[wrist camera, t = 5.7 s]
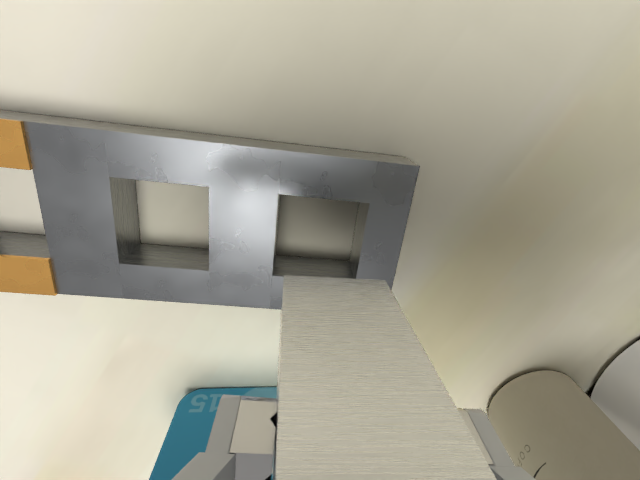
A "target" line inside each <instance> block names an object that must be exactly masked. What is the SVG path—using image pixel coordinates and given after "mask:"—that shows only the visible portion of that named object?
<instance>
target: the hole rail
mask: <svg viewBox="0 0 640 480" xmlns="http://www.w3.org/2000/svg"><path fill="white" fill-rule="evenodd" d="M0 167H6V168H16V169H26V170H31V169H33V173H34V178H35V183H36V188H37V193H38V198H39V203H40V208H41V213H42V218H43V223H44V228H45V234H46V235H36V234H25V233H13V232H1V231H0V292H12V293H27V294H41V295H57V294H69V295H83V296H97V297H111V298H126V299H140V300H154V301H168V302H182V303H197V304H211V305H225V306H239V307H254V308H268V309H282V295H283V280H284V275H292V276H312V277H332V278H352V279H372V280H385V281H386V282H387V284H388V286H389V288H390V289H392V285H393V280H394V276H395V272H396V267H397V263H398V259H399V254H400V250H401V246H402V241H403V237H404V232H405V228H406V224H407V219H408V215H409V211H410V206H411V202H412V198H413V193H414V189H415V185H416V180H417V176H418V172H419V167H420V166H419V165H417V164H416V163H414V162H412V161H411V160H409V159H408V158H406V157H403V156H394V155H386V154H377V153H368V152H360V151H351V150H342V149H334V148H325V147H316V146H308V145H299V144H291V143H282V142H273V141H265V140H256V139H247V138H239V137H230V136H221V135H213V134H204V133H195V132H187V131H178V130H170V129H161V128H152V127H144V126H135V125H126V124H118V123H109V122H100V121H92V120H83V119H74V118H66V117H57V116H49V115H40V114H31V113H23V112H14V111H5V110H0ZM135 180H145V181H155V182H165V183H174V184H184V185H194V186H204V187H209V249H201V248H189V247H178V246H166V245H154V244H142V243H140V233H139V221H138V209H137V198H136V186H135ZM280 194H283V195H293V196H302V197H312V198H322V199H332V200H342V201H352V202H359V206H358V211H357V217H356V223H355V229H354V235H353V241H352V247H351V253H350V259H349V261H342V260H331V259H319V258H307V257H295V256H284V255H275V253H276V240H277V228H278V215H279V202H280Z"/></svg>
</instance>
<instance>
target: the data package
mask: <svg viewBox="0 0 640 480" xmlns="http://www.w3.org/2000/svg"><path fill="white" fill-rule="evenodd" d="M223 394H225V395H237V396H253V397H264V398H276V395H277V387H254V388H209V389H198V390H195V391H193V392H191V393H189V394H187V395H186V396H185V397H184V398H183V399H182V400H181V401H180V403H179V404H178V407H177V409H176V412H175V414H174V417H173V419H172V422H171V425H170V427H169V430H168V432H167V435H166V437H165V440H164V443H163V445H162V448H161V450H160V453H159V455H158V458H157V461H156V463H155V466H154V468H153V471H152V473H151V476H150V478H149V480H172V479H173V478H174V477H175V476H176V475H177V474H178V473H179V472H180V471H181V470H182V469H183V468H184V467H185V466H186V465H187V464H188V463H189V462H190V461H191V460H192V459H193V458H194V457H195V456H196V455H197V454H198V453H199V452H205V451H206V447H207V444H208V440H209V437H210V433H211V430H212V426H213V423H214V419H215V416H216V412H217V409H218V405H219V402H220V399H221V397H222V395H223ZM273 457H274V455H273ZM272 477H273V466H272V476H271V480H272Z"/></svg>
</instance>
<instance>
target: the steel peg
mask: <svg viewBox="0 0 640 480" xmlns="http://www.w3.org/2000/svg"><path fill="white" fill-rule="evenodd" d="M276 399H278V408H277V423H276V434H275V445H274V457H273V477H272V480H497V479H496V477H495V476H494V474H493V472H492V470H491V468H490V467H489V465H488V463H487V461H486V459H485V458H484V456H483V454H482V452H481V450H480V449H479V447H478V445H477V443H476V442H475V440H474V438H473V436H472V434H471V433H470V431H469V429H468V427H467V425H466V424H465V422H464V420H463V418H462V416H461V415H460V413H459V411H458V409H457V408H456V406H455V404H454V402H453V400H452V399H451V397H450V395H449V393H448V391H447V390H446V388H445V386H444V384H443V382H442V381H441V379H440V377H439V375H438V374H437V372H436V370H435V368H434V366H433V365H432V363H431V361H430V359H429V357H428V356H427V354H426V352H425V350H424V349H423V347H422V345H421V343H420V341H419V340H418V338H417V336H416V334H415V332H414V331H413V329H412V327H411V325H410V323H409V322H408V320H407V318H406V316H405V315H404V313H403V311H402V309H401V307H400V306H399V304H398V302H397V300H396V298H395V297H394V295H393V293H392V291H391V289H390V288H389V286H388V284H387V282H386V281H385V280H372V279H352V278H332V277H312V276H292V275H284V280H283V295H282V310H281V325H280V341H279V356H278V375H277V395H276Z"/></svg>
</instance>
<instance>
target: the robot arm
mask: <svg viewBox="0 0 640 480" xmlns="http://www.w3.org/2000/svg"><path fill="white" fill-rule="evenodd" d="M590 399H591V400H592V401H593V402H594V403H595V404H596V405H597V406H598V407H599V408H600V409H601V410H602V411H603V412H604V414H605V415H606V416H607V417H608V418H609V419H610V420H611V421H612V422H613V423H614V424H615V425H616V426H617V427H618V428H619V429H620V430H621V432H622V433H623V434H624V435H625V436H626V437H627V438H628V439H629V440H630V441H631V442H632V443H633V444H634V445H635V446H636V447H637V448H638V449H639V451H640V340H639V341H637V342H635V343H634V344H633V345H631V346H630V347H628V348H627V349H626V350H625V351H623V352H622V353H621V354H620V355H619V356H618V357H617V358H616V359H615V360H614V361H613V362H612V363H611V364H610V365H609V366H608V367H607V368H606V369H605V371H604V372H603V373H602V375H601V376H600V378H599V379H598V381H597V383H596V385H595V387H594V389H593V392H592V395H591V398H590ZM277 408H278V399H276V398H264V397H253V396H237V395H225V394H223V395H222V397H221V399H220V402H219V405H218V409H217V412H216V416H215V419H214V423H213V426H212V430H211V433H210V437H209V440H208V444H207V447H206V451H205V452H199V453H198V454H197V455H196V456H195V457H194V458H193V459H192V460H191V461H190V462H189V463H188V464H187V465H186V466H185V467H184V468H183V469H182V470H181V471H180V472H179V473H178V474H177V475H176V476H175V477H174V478H173V479H172V480H271V476H272V466H273V455H274V445H275V434H276V423H277ZM457 409H458V411H459V413H460V415H461V416H462V418H463V420H464V422H465V424H466V425H467V427H468V429H469V431H470V433H471V434H472V436H473V438H474V440H475V442H476V443H477V445H478V447H479V449H480V450H481V452H482V454H483V456H484V458H485V459H486V461H487V463H488V465H489V467H490V468H491V470H492V472H493V474H494V476H495V477H496V479H497V480H536V479H535V478H533V477H532V476H531V475H530V474H529V473H527V472H526V471H525V470H524V469H523V468H522V467H517V466H515V465H514V463H513V462H512V460H511V458H510V456H509V454H508V453H507V451H506V449H505V447H504V446H503V444H502V442H501V440H500V438H499V437H498V435H497V433H496V431H495V430H494V428H493V426H492V424H491V422H490V421H489V419H488V417H487V415H486V414H485V412H484V411H482V410H481V409H462V408H457Z"/></svg>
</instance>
